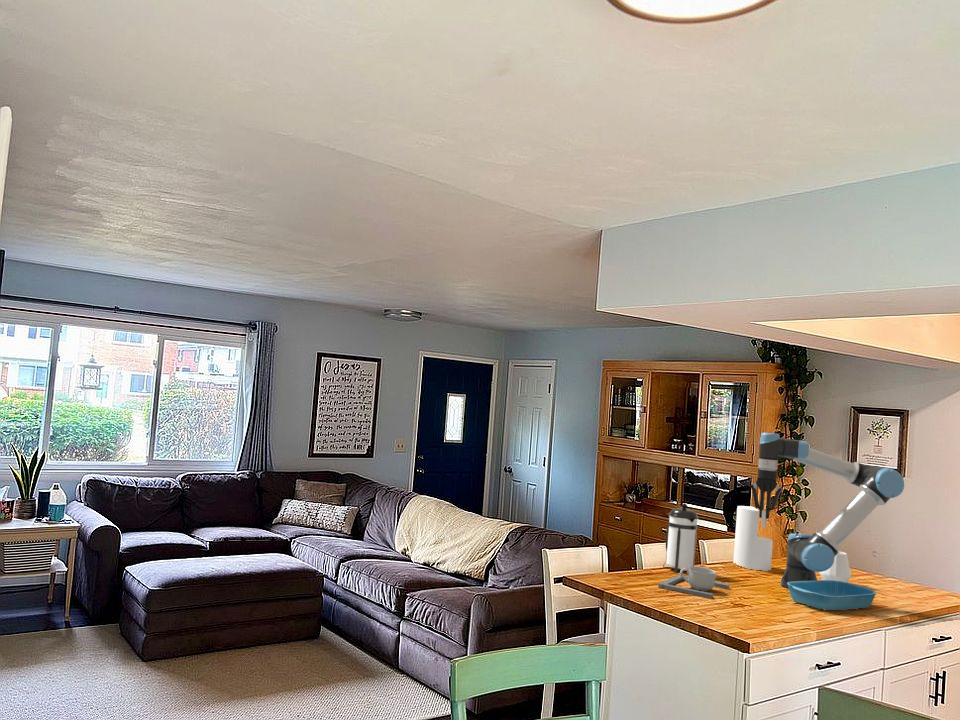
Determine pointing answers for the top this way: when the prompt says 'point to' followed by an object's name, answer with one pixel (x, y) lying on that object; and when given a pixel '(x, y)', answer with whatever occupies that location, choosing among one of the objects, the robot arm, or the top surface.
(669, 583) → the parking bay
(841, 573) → the cup
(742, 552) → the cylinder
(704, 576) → the teacup
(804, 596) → the casserole dish
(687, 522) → the coffee press
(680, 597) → the top surface
